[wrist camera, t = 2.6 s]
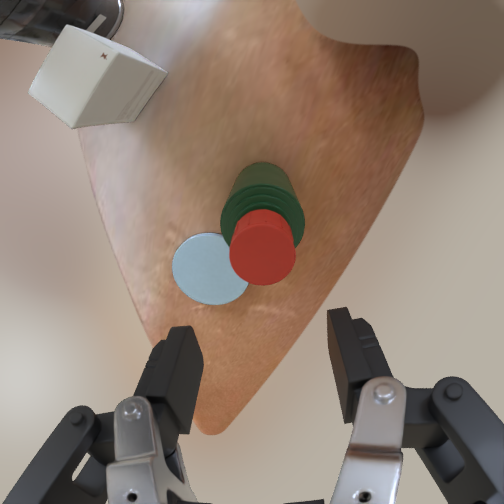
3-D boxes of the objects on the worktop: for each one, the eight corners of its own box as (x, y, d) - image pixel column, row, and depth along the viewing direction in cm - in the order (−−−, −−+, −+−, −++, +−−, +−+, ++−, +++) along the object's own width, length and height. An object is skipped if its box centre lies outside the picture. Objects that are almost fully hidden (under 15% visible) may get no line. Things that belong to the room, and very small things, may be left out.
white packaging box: (126, 45, 26) (67, 20, 14) (170, 73, 28) (121, 51, 16) (92, 94, 28) (24, 92, 17) (133, 124, 30) (71, 131, 19)
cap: (228, 213, 20) (222, 230, 17) (287, 205, 19) (291, 220, 16) (239, 265, 21) (235, 289, 18) (294, 257, 21) (298, 281, 18)
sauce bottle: (229, 167, 32) (198, 211, 17) (286, 158, 32) (309, 193, 16) (240, 220, 35) (221, 303, 19) (294, 212, 34) (319, 290, 19)
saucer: (164, 239, 36) (162, 241, 36) (242, 226, 35) (242, 229, 34) (185, 305, 40) (184, 308, 40) (256, 297, 39) (256, 300, 39)
